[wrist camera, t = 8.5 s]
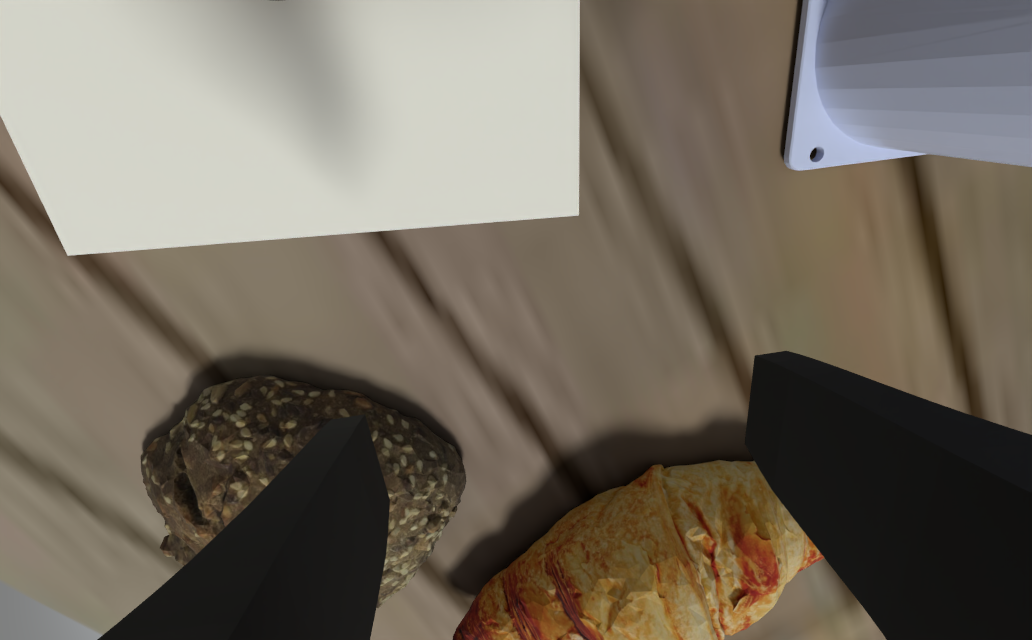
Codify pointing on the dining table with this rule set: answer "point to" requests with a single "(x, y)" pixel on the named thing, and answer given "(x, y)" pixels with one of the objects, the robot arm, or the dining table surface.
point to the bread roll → (273, 444)
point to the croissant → (651, 562)
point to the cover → (290, 116)
